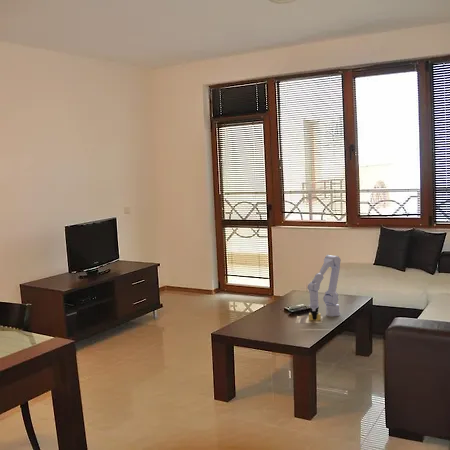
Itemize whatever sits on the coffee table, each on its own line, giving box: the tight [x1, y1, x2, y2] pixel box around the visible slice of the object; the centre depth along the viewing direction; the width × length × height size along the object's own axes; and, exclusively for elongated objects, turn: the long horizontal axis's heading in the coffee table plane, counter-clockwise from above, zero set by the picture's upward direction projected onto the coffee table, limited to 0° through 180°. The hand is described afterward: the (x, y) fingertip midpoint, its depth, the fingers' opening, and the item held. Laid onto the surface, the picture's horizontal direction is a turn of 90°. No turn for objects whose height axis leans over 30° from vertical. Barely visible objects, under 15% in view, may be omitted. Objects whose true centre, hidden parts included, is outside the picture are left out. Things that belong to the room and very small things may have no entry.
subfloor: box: [294, 315, 323, 325], centre depth 387 cm, size 18×19×1 cm
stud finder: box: [308, 312, 322, 320], centre depth 386 cm, size 8×5×4 cm, turn 77°
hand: (314, 318), depth 386 cm, fingers closed on stud finder, 5 cm apart
